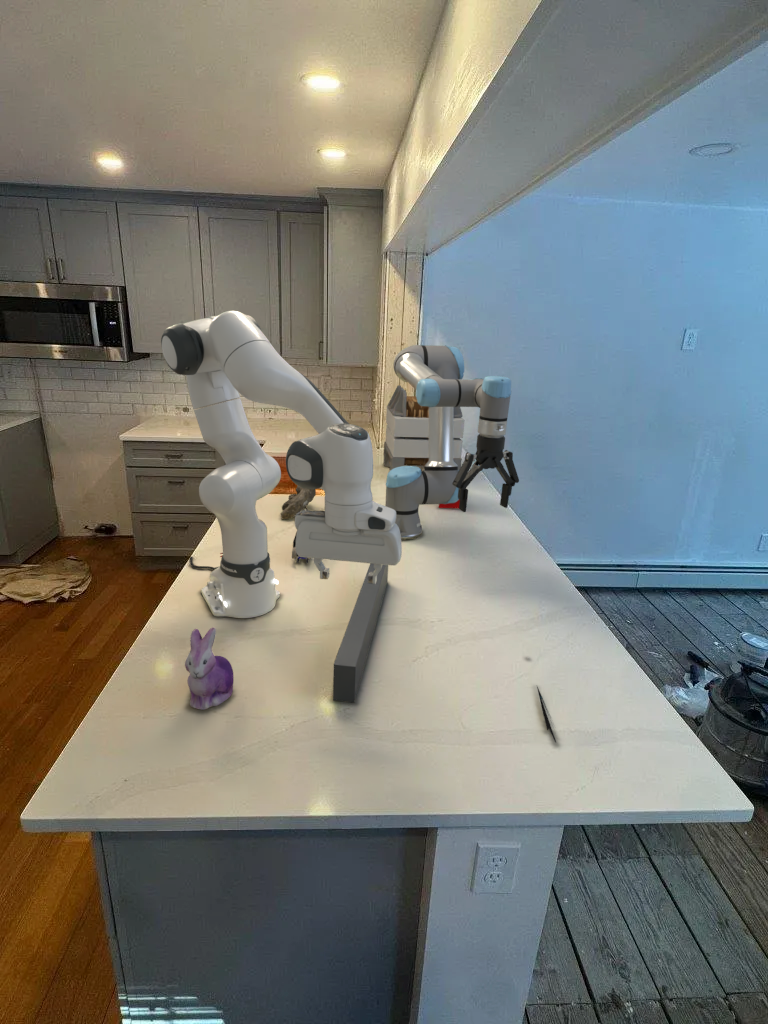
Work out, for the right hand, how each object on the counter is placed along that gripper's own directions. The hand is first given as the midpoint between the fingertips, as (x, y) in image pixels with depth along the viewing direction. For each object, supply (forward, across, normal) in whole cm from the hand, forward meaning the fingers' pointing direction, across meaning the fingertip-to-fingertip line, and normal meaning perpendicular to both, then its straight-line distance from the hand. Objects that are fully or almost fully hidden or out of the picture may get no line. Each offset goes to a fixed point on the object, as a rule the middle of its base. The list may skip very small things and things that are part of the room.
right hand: (483, 508), depth 161 cm
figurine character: (+22, -45, +30) cm, 58 cm away
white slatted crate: (+23, +33, +108) cm, 115 cm away
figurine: (+22, -79, -31) cm, 88 cm away
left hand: (-3, -53, -36) cm, 64 cm away
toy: (+22, +27, +71) cm, 79 cm away
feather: (+22, -16, -52) cm, 59 cm away
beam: (+22, -41, -17) cm, 50 cm away
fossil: (+22, -36, +70) cm, 82 cm away
